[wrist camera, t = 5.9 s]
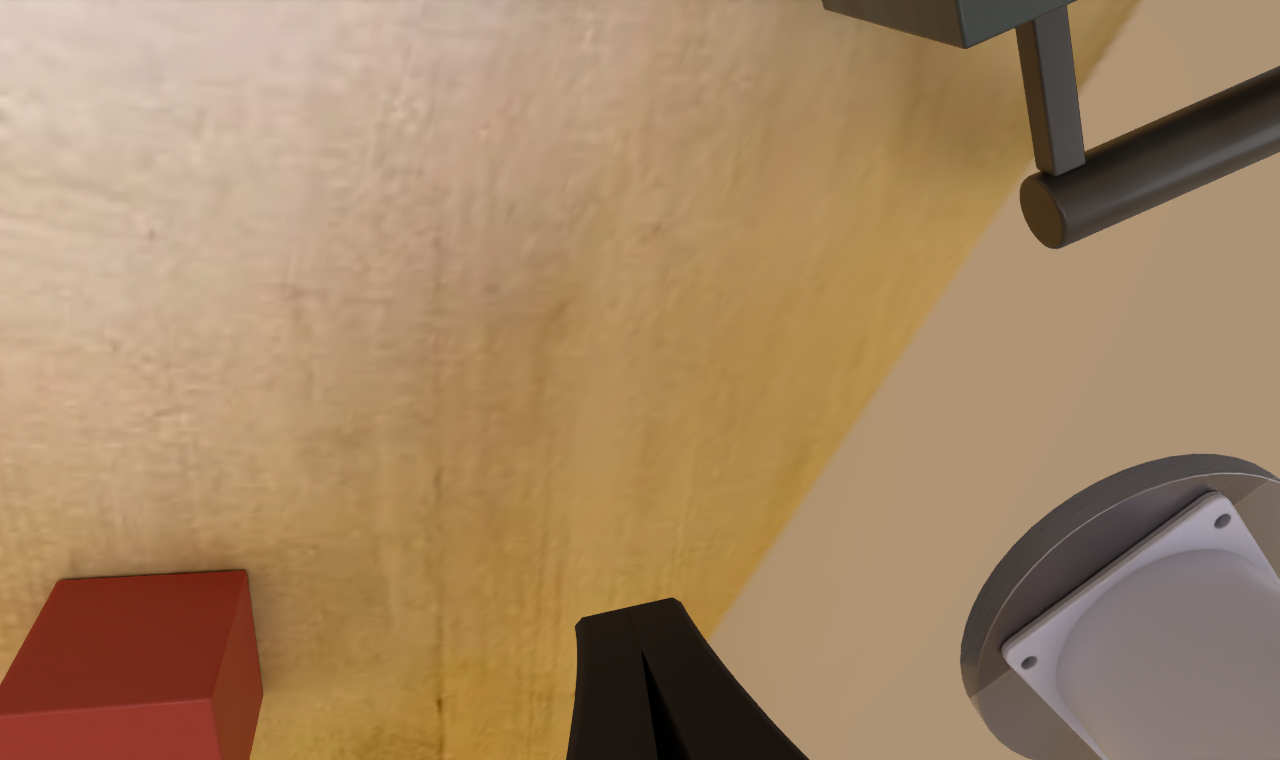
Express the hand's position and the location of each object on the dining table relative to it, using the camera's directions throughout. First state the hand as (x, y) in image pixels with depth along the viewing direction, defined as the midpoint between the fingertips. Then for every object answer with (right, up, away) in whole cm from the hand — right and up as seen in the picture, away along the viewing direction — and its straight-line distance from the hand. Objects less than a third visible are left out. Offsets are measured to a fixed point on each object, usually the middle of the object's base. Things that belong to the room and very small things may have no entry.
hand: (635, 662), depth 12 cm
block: (-11, -2, +10) cm, 15 cm away
